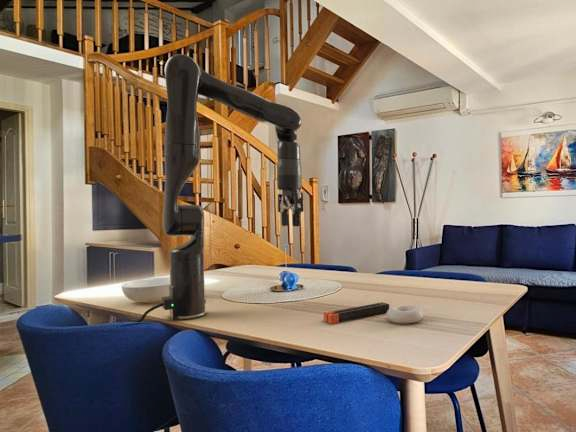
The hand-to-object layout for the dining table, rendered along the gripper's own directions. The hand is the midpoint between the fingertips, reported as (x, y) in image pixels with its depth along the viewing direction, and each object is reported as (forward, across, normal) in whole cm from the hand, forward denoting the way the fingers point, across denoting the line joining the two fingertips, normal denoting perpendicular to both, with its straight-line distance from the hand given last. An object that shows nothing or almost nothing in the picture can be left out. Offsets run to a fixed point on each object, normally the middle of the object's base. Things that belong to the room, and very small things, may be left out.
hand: (290, 226), depth 131 cm
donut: (+26, -34, -18) cm, 47 cm away
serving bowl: (+26, +44, +32) cm, 61 cm away
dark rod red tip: (+26, -23, -10) cm, 36 cm away
